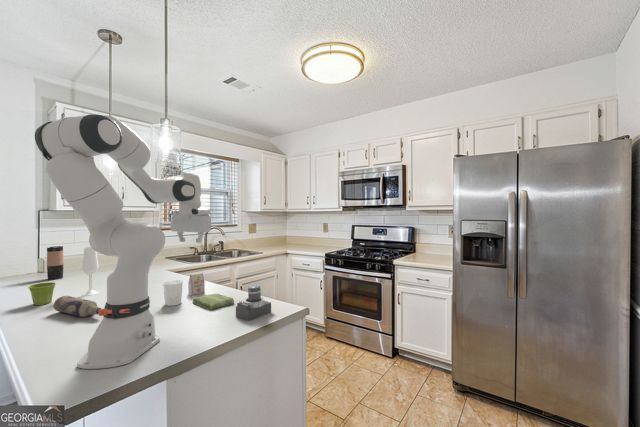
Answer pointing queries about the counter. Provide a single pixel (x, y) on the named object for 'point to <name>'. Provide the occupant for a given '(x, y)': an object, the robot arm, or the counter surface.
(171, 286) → the white cup
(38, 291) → the plant pot
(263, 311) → the camera body
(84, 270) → the champagne flute
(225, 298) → the washcloth
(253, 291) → the lens
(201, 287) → the white food carton
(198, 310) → the counter surface
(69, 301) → the decorative bottle
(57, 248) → the travel mug
